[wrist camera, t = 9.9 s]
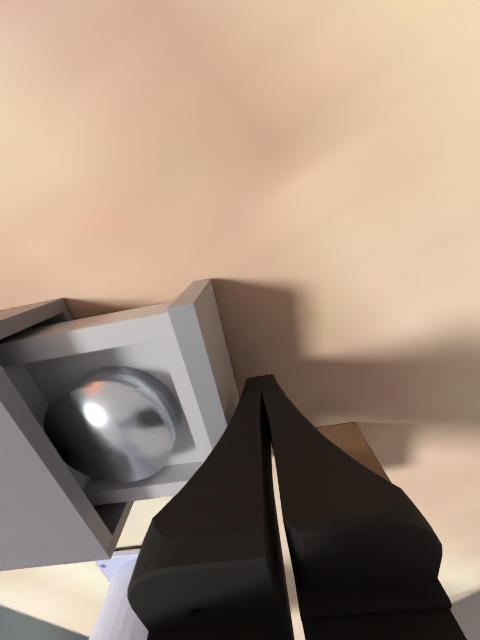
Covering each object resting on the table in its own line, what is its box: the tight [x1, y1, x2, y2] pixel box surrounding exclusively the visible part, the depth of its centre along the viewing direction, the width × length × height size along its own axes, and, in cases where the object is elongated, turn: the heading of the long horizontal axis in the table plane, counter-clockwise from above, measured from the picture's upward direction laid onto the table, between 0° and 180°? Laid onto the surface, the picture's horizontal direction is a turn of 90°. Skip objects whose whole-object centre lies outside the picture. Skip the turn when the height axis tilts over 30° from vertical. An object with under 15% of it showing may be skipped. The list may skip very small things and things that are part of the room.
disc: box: [44, 366, 181, 482], centre depth 11 cm, size 6×6×2 cm
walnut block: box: [316, 422, 391, 482], centre depth 13 cm, size 3×3×4 cm
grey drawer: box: [0, 278, 240, 506], centre depth 11 cm, size 11×10×4 cm
